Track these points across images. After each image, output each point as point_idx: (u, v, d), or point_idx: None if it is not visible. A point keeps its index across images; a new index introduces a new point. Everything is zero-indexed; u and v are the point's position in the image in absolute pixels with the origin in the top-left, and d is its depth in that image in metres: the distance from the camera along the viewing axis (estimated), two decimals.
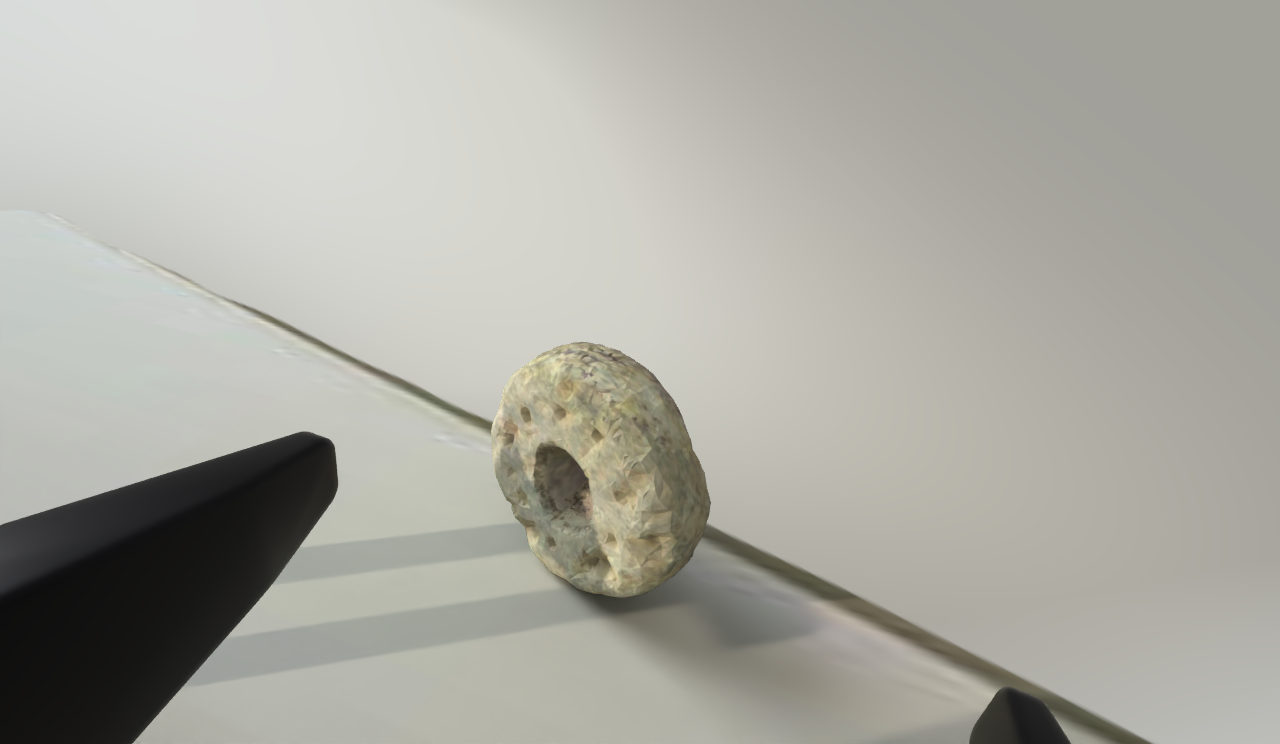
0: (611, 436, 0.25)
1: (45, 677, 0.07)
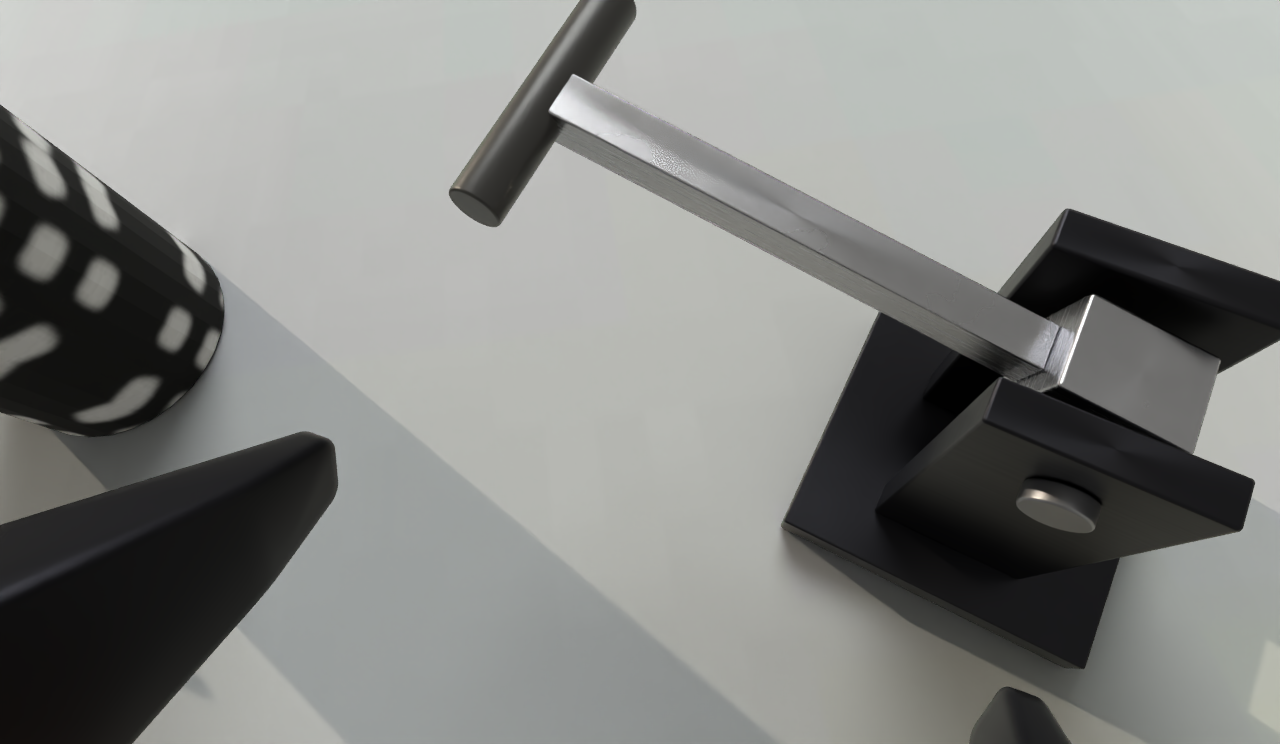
0: None
1: (45, 677, 0.07)
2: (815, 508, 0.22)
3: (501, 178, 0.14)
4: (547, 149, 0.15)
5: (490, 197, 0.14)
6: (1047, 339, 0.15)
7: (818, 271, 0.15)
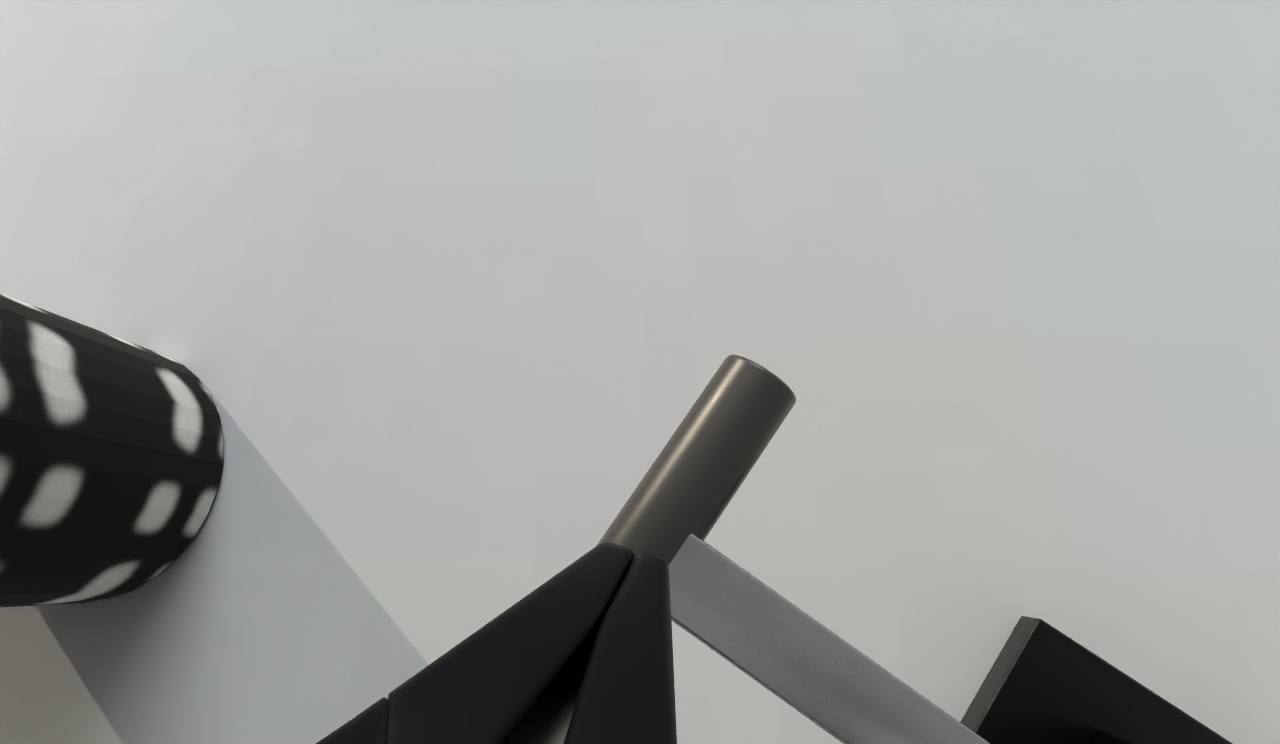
0: None
1: None
2: None
3: None
4: None
5: None
6: None
7: None
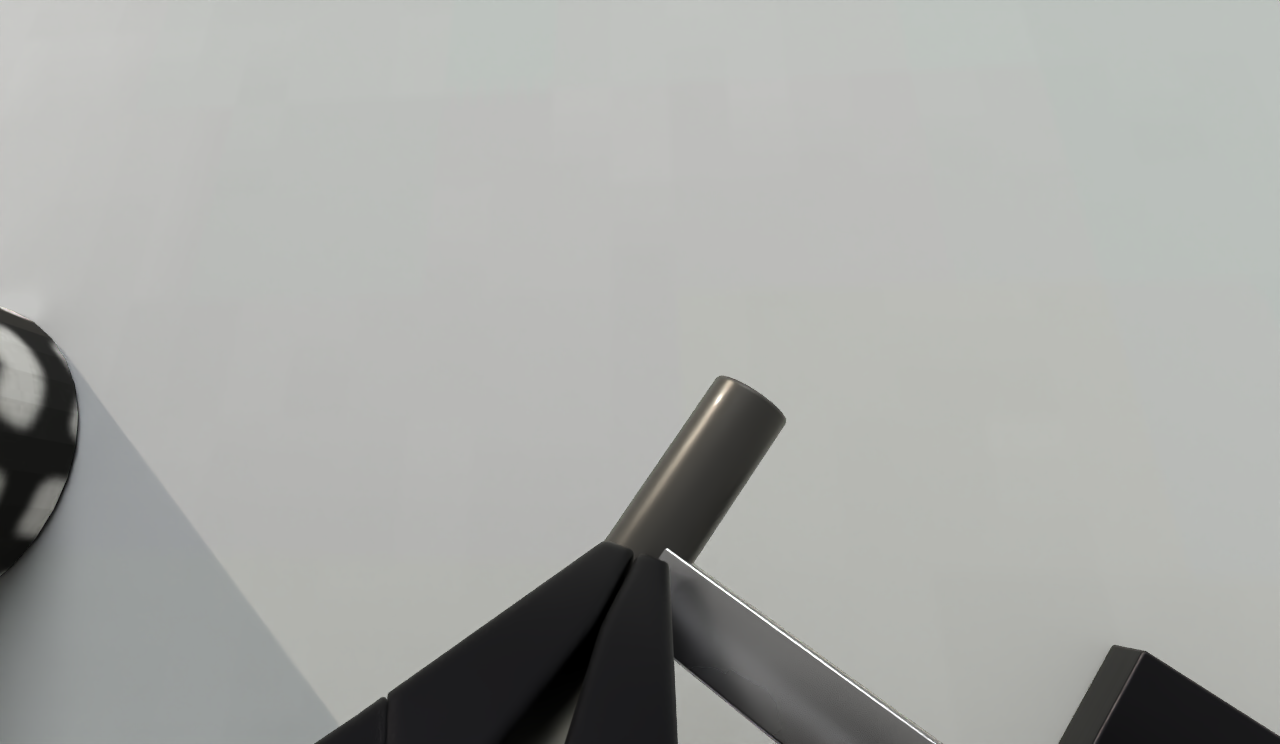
0: None
1: None
2: None
3: None
4: None
5: None
6: None
7: None
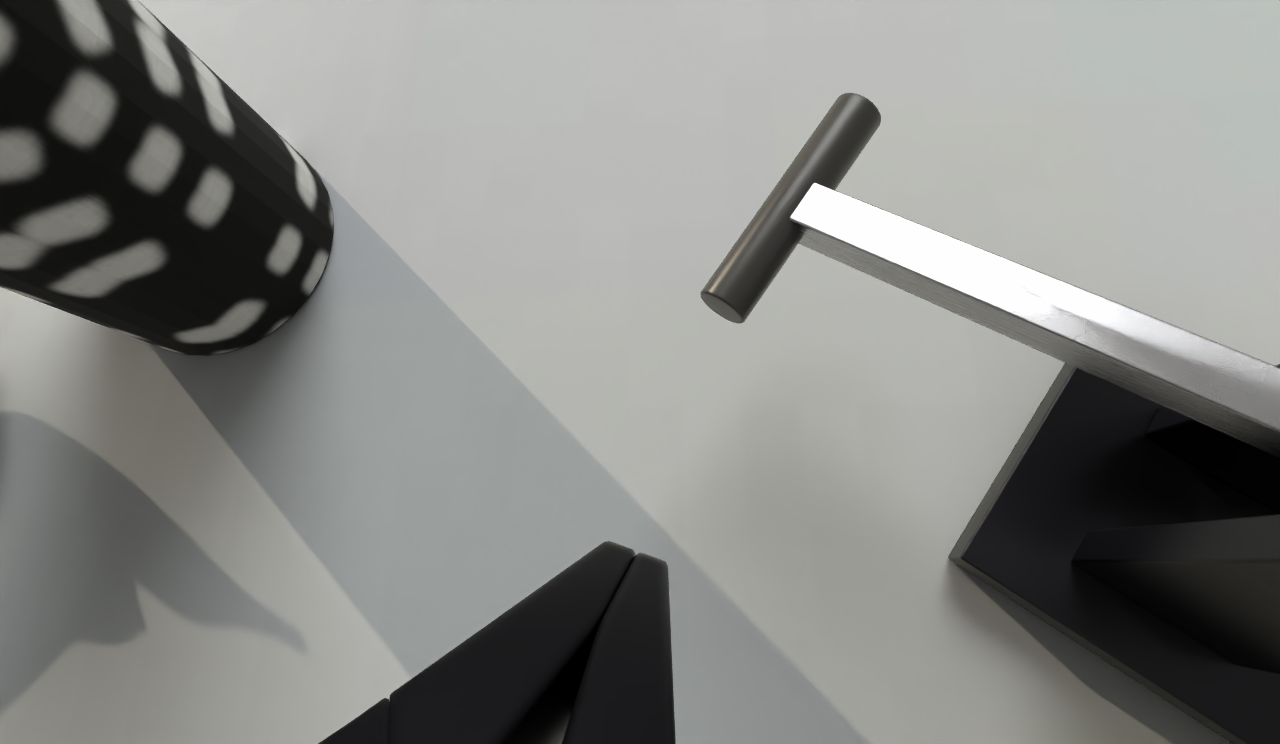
0: None
1: None
2: (999, 548, 0.19)
3: (744, 280, 0.16)
4: (789, 251, 0.17)
5: (734, 298, 0.16)
6: None
7: (1077, 360, 0.14)
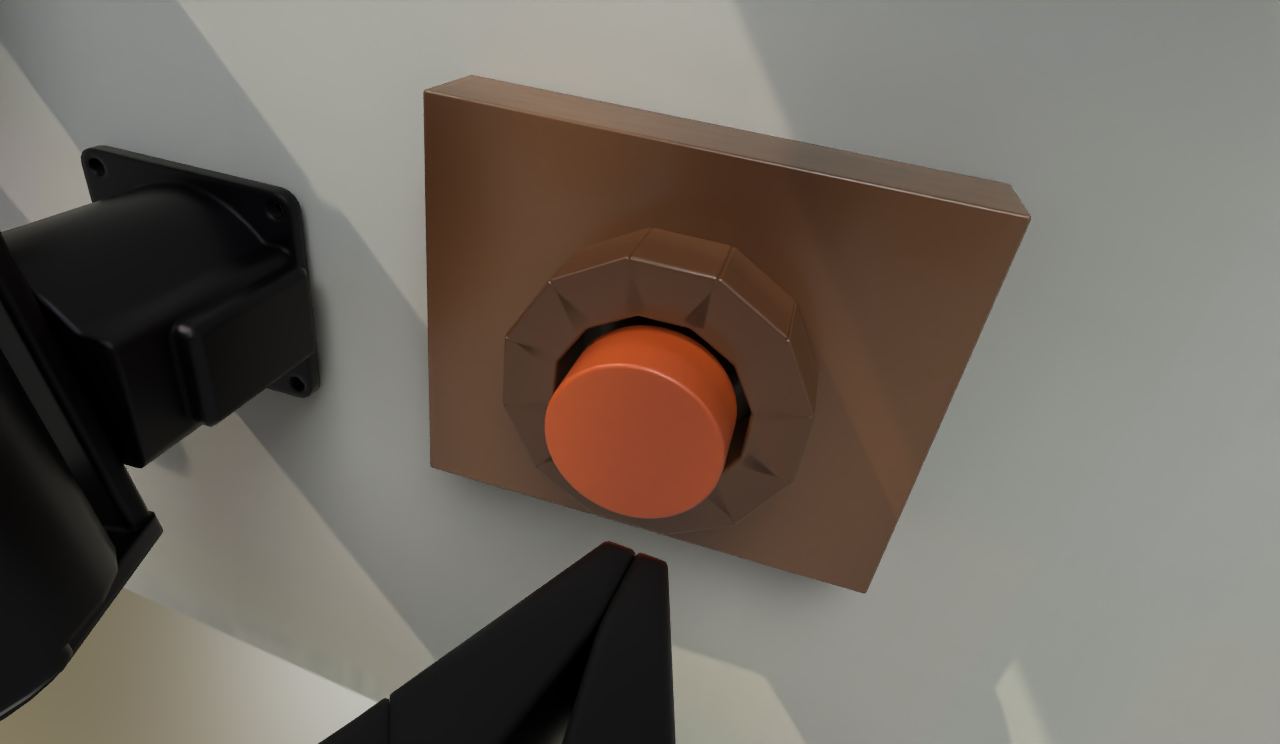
0: None
1: None
2: None
3: None
4: None
5: None
6: None
7: None
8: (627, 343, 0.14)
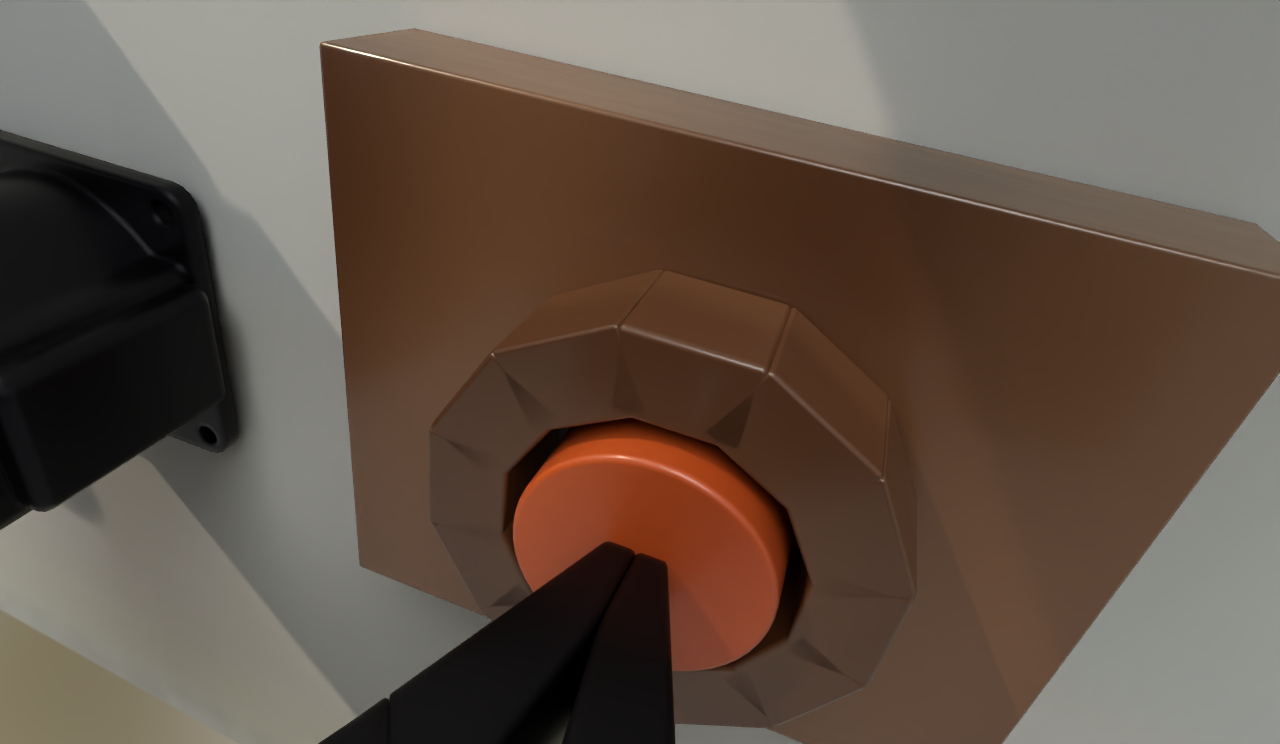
0: None
1: None
2: None
3: None
4: None
5: None
6: None
7: None
8: None
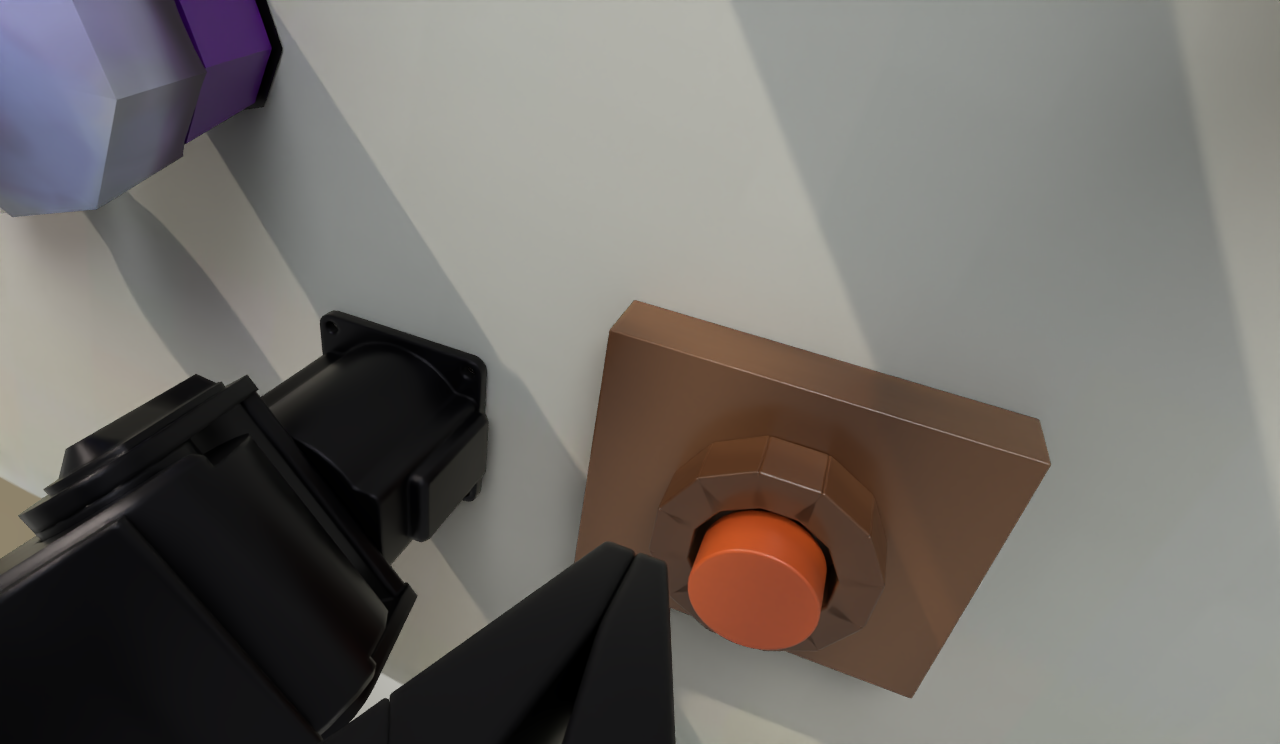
0: None
1: None
2: None
3: None
4: None
5: None
6: None
7: None
8: (753, 529, 0.19)
